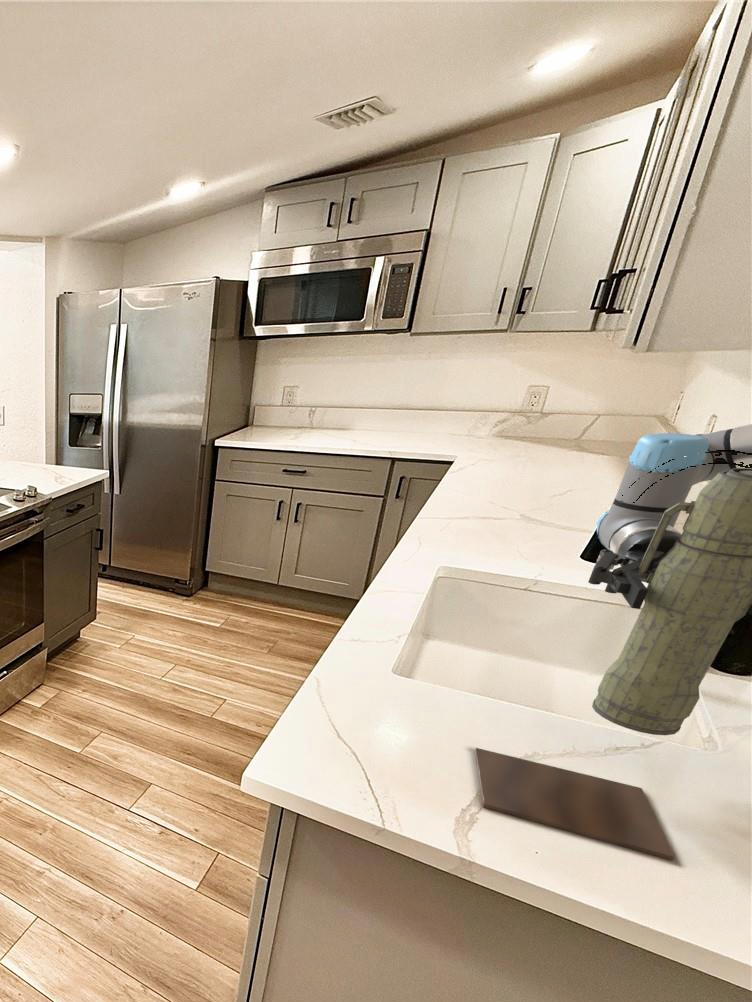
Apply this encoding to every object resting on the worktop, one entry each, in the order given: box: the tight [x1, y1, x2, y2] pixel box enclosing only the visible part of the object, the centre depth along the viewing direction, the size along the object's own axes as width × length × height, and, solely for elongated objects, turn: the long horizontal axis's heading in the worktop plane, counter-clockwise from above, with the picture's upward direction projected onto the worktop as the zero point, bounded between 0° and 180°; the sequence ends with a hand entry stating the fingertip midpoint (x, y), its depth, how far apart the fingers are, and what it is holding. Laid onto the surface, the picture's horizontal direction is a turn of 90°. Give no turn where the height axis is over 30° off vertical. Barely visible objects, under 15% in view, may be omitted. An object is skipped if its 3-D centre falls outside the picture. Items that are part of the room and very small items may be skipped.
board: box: [474, 747, 675, 861], centre depth 84 cm, size 18×14×1 cm
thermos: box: [591, 468, 752, 736], centre depth 79 cm, size 9×12×35 cm
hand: (703, 607), depth 76 cm, fingers closed on thermos, 10 cm apart
